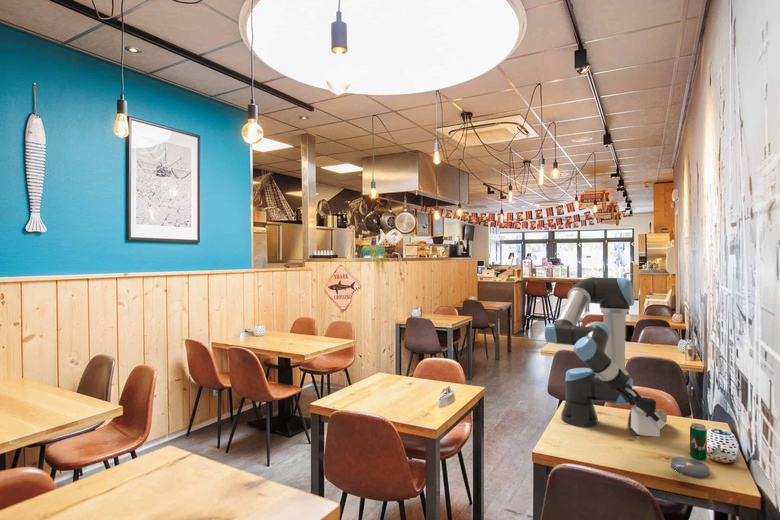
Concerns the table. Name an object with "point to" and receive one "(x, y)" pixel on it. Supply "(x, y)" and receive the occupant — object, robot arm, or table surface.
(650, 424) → the medicine bottle
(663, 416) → the taco
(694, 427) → the soda can
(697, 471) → the disc
